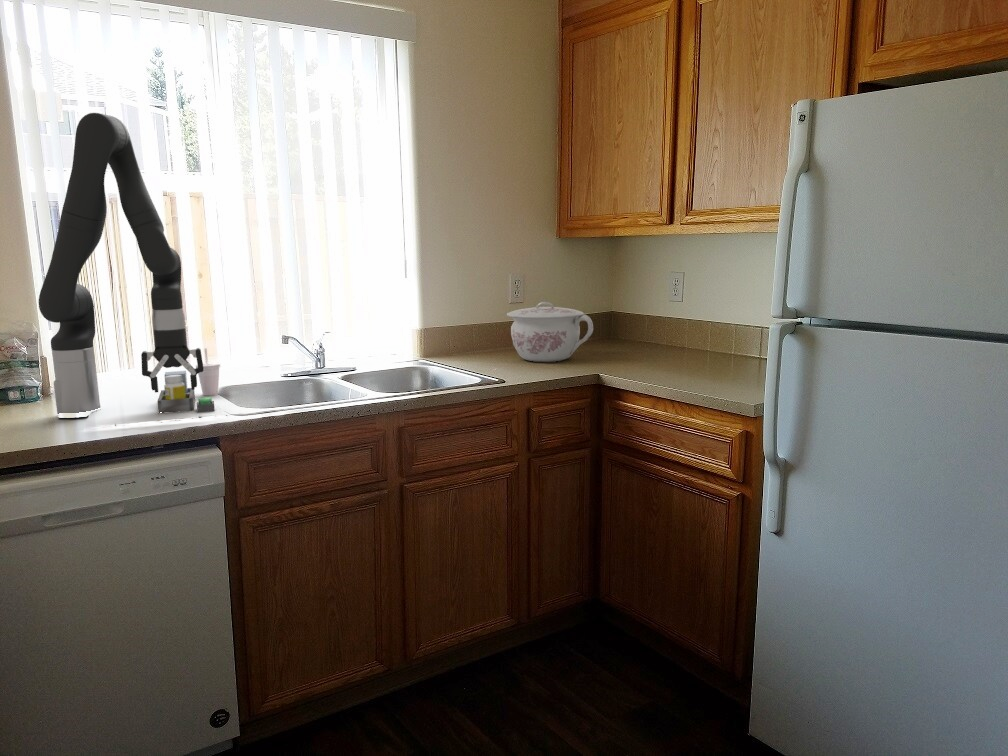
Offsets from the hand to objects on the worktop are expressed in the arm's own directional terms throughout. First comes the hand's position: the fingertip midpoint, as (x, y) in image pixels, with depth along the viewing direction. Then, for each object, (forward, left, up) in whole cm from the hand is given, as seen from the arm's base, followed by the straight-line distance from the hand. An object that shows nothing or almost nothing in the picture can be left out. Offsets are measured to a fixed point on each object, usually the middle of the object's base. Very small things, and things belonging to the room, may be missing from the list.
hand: (175, 390), depth 193 cm
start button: (+7, -5, -7) cm, 11 cm away
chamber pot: (+120, +39, -6) cm, 126 cm away
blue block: (0, +8, -5) cm, 9 cm away
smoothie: (+8, +17, -6) cm, 20 cm away
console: (+7, -5, -6) cm, 11 cm away
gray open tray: (0, +4, -6) cm, 7 cm away
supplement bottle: (0, 0, -5) cm, 5 cm away
